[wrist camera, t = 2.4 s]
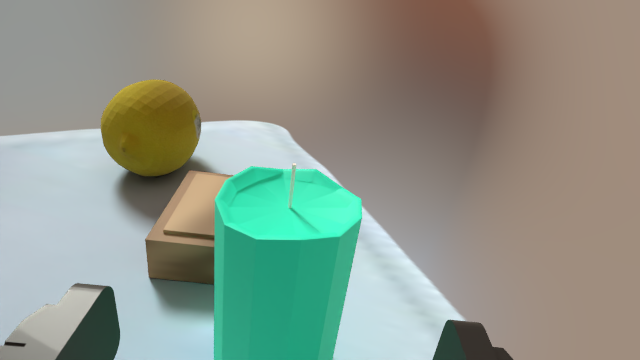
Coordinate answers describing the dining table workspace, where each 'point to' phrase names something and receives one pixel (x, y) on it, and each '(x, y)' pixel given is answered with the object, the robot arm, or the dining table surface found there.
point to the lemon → (151, 127)
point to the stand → (186, 231)
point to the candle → (281, 263)
